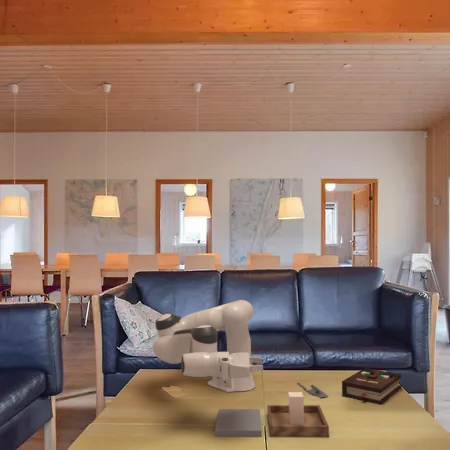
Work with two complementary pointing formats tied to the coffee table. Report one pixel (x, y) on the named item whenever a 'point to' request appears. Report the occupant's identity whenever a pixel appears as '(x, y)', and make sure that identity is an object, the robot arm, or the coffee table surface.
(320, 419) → the box
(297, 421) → the tall cream pillar block
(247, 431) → the board
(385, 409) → the coffee table surface
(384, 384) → the decorative book
